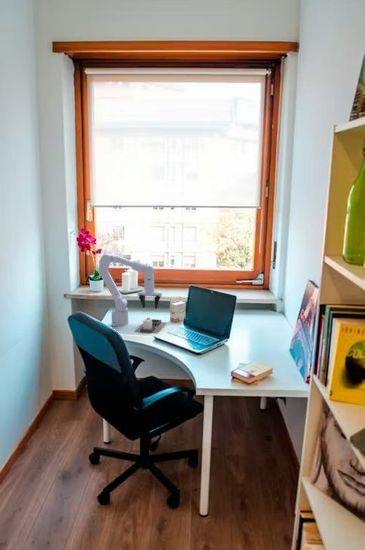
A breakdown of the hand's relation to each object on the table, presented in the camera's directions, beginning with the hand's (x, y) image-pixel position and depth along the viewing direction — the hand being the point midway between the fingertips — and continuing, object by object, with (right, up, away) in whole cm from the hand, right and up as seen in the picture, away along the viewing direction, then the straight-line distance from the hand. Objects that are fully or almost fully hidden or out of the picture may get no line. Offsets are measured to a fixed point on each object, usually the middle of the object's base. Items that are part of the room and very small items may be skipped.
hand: (150, 307), depth 244 cm
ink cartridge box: (+17, -9, +6) cm, 20 cm away
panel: (+1, -11, -6) cm, 13 cm away
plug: (0, -12, -12) cm, 17 cm away
